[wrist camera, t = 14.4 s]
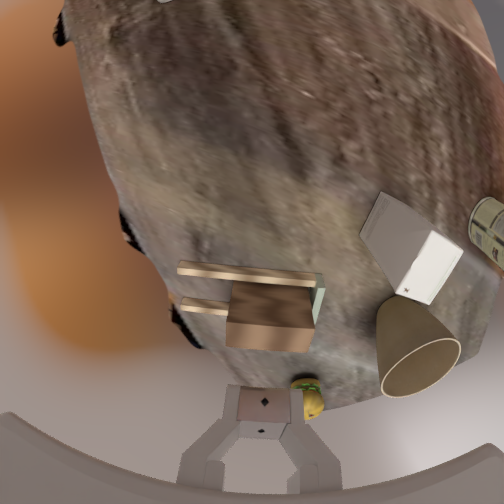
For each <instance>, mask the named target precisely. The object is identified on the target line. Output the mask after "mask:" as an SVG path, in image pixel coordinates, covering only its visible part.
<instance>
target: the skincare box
mask: <svg viewBox="0 0 504 504" xmlns="http://www.w3.org/2000/svg"><path fill="white" fill-rule="evenodd" d="M359 236H360V238H361V239H362V241H363V242H364V244H365V245H366V246H367V248H368V249H369V251H370V252H371V254H372V255H373V257H374V258H375V260H376V262H377V263H378V265H379V266H380V268H381V269H382V271H383V272H384V274H385V276H386V277H387V279H388V280H389V282H390V284H391V286H392V287H393V289H394V292H395V293H396V294H399V295H402V296H405V297H408V298H411V299H414V300H417V301H420V302H423V303H425V304H428V305H430V303H431V302H432V300H433V299H434V297H435V296H436V294H437V293H438V292H439V290H440V289H441V287H442V286H443V284H444V282H445V281H446V279H447V278H448V276H449V275H450V273H451V271H452V270H453V268H454V267H455V265H456V263H457V262H458V260H459V258H460V257H461V255H462V253H463V250H462V249H461V248H460V247H459V246H458V245H457V244H455V243H454V242H453V241H452V240H451V239H450V238H448V237H447V236H446V235H445V234H444V233H443V232H441V231H440V230H439V229H438V228H436V227H435V226H434V225H433V224H431V223H430V222H429V221H428V220H426V219H425V218H424V217H423V216H421V215H420V214H419V213H417V212H416V211H415V210H413V209H412V208H411V207H410V206H408V205H406V204H404V203H403V202H401V201H399V200H397V199H395V198H394V197H392V196H390V195H388V194H386V193H384V192H382V191H381V192H380V194H379V196H378V198H377V200H376V202H375V204H374V206H373V208H372V210H371V212H370V214H369V216H368V218H367V220H366V222H365V224H364V226H363V228H362V230H361V232H360V234H359Z"/></svg>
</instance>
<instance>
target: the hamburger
mask: <svg viewBox="0 0 504 504" xmlns="http://www.w3.org/2000/svg"><path fill="white" fill-rule="evenodd" d="M319 386H320V383H319V381H318V380H316V379H312V378H304V379H299V380H296V381H294V382H293V383H292V384H291V389H301V390H302V392H303V404H304V418H305V420H309V419H313V418H315V417H316V416H318V415H319V414H320V413H321V412H322V410H323V408H324V399H323V397H322V396H321V391H320V388H318V387H319Z"/></svg>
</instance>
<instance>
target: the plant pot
mask: <svg viewBox="0 0 504 504" xmlns="http://www.w3.org/2000/svg"><path fill="white" fill-rule="evenodd" d="M376 348H377V362H378V371H379V378H380V386H381V391H382V393H383V394H384V395H386V396H388V397H392V398H401V397H407V396H411V395H414V394H417V393H419V392H421V391H423V390H425V389H427V388H429V387H431V386H432V385H434V384H435V383H437V382H438V381H439V380H441V379H442V378H443V377H444V376H445V375H446V374H447V373H448V372H449V371H450V370H451V369H452V368H453V367H454V365H455V364H456V362H457V360H458V358H459V356H460V353H461V345H460V343H459V341H458V340H457V339H456V338H455V337H454V336H453V334H452V333H451V332H450V331H449V330H448V329H447V328H446V327H445V326H444V325H443V324H442V323H441V322H440V321H439V320H438V319H437V318H436V317H434V316H433V315H432V314H431V313H429V312H428V311H427V310H426V309H424V308H423V307H421V306H420V305H418V304H417V303H415V302H414V301H412V300H410V299H408V298H406V297H404V296H394V297H392V298H389V299H388V300H386V301H385V302H384V303H383V304H382V305H381V306H380V308H379V310H378V312H377V321H376Z"/></svg>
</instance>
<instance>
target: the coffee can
mask: <svg viewBox="0 0 504 504" xmlns="http://www.w3.org/2000/svg"><path fill="white" fill-rule="evenodd" d="M468 233H469V238H470V240H471V242H472V243H473V244H475V245H476V246H477V247H478V248H479V249H481V250H482V251H483V252H484V253H485V254H486V255H487V256H488V257H489V258H491V259H492V260H493V261H494V262H495V263H496V264H497V265H498V266H499V267H500V268H501V269H502V270H503V271H504V204H502V203H500V202H499V201H497V200H496V199H494V198H492V197H486V198H483V199H482V200H481V201H479V202H478V204H477V205H476V206H475V208H474V210H473V211H472V214H471V216H470V220H469V224H468Z"/></svg>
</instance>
